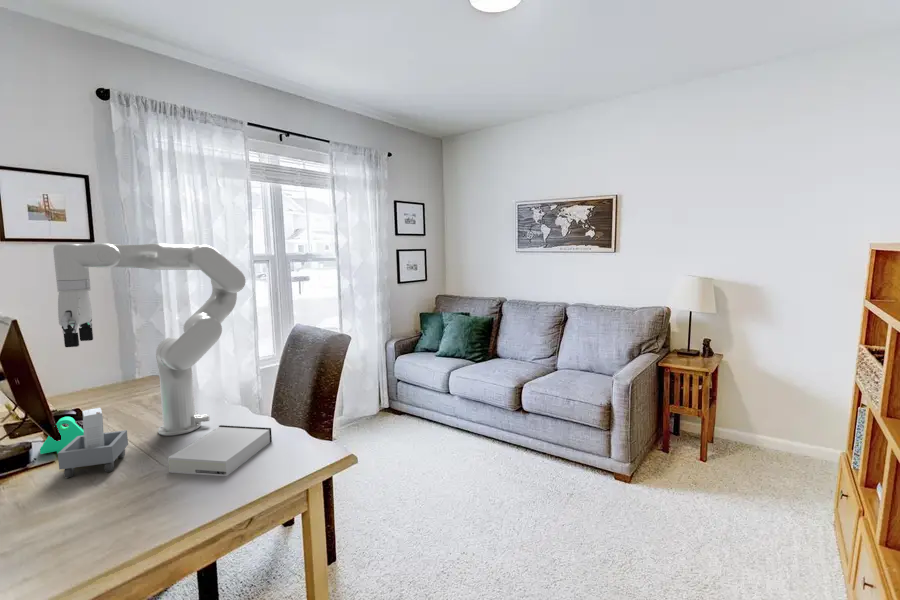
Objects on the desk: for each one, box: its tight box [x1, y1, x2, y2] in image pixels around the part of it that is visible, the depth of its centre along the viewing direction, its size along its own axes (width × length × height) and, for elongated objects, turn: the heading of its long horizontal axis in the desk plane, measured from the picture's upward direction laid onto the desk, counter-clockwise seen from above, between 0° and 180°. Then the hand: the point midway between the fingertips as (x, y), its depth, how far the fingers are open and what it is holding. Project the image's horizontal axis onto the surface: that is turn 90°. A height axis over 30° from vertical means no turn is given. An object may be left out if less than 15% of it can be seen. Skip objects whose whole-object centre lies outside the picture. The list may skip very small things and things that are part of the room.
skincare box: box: [81, 407, 105, 448], centre depth 126 cm, size 6×4×12 cm
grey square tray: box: [57, 429, 129, 479], centre depth 126 cm, size 12×12×8 cm
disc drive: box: [167, 424, 273, 477], centre depth 133 cm, size 18×22×5 cm
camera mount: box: [39, 416, 84, 455], centre depth 139 cm, size 12×8×10 cm, turn 123°
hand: (79, 343), depth 133 cm, fingers open, 9 cm apart
